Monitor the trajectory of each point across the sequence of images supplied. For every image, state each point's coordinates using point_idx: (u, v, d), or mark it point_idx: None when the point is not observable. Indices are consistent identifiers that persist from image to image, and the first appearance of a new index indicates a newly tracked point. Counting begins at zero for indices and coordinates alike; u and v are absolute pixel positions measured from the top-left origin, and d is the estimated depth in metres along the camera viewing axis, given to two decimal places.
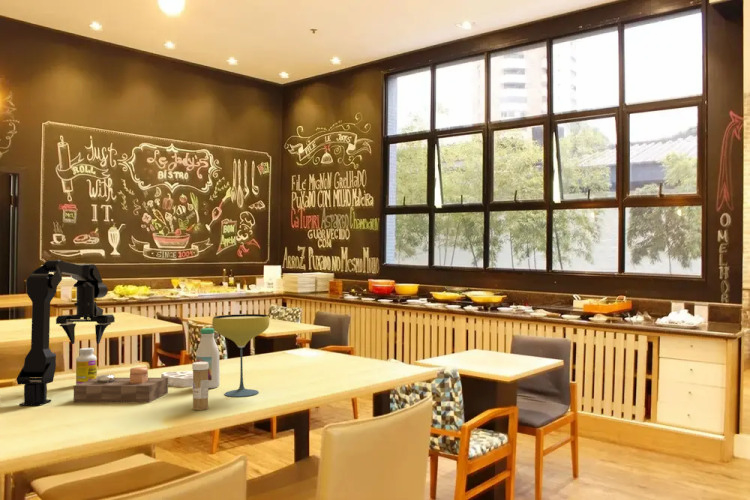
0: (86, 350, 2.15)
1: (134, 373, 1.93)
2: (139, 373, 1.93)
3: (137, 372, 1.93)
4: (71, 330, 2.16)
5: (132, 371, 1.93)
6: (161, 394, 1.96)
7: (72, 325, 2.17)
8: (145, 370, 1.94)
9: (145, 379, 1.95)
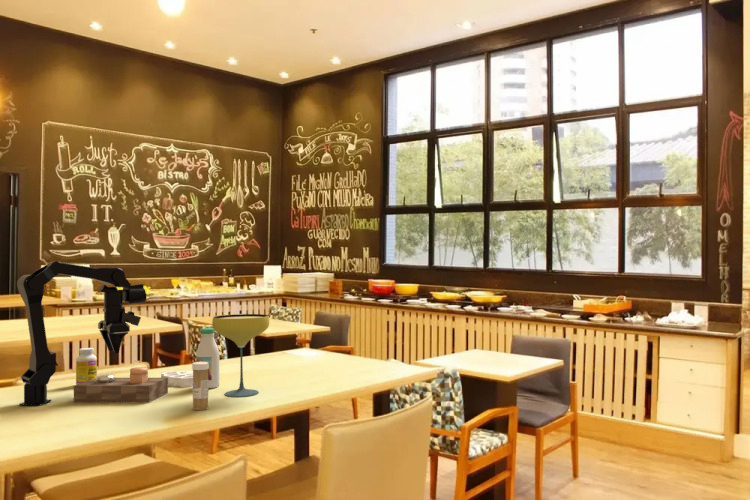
0: (86, 350, 2.15)
1: (134, 373, 1.93)
2: (139, 373, 1.93)
3: (137, 372, 1.93)
4: (108, 336, 2.09)
5: (132, 371, 1.93)
6: (161, 394, 1.96)
7: None
8: (145, 370, 1.94)
9: (145, 379, 1.95)
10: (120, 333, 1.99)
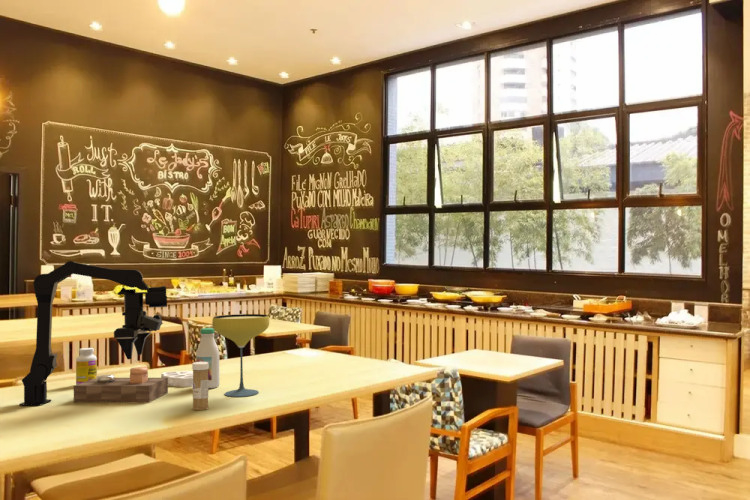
0: (86, 350, 2.15)
1: (134, 373, 1.93)
2: (139, 373, 1.93)
3: (137, 372, 1.93)
4: (138, 340, 2.02)
5: (132, 371, 1.93)
6: (161, 394, 1.96)
7: (141, 335, 2.03)
8: (145, 370, 1.94)
9: (145, 379, 1.95)
10: (126, 338, 1.89)
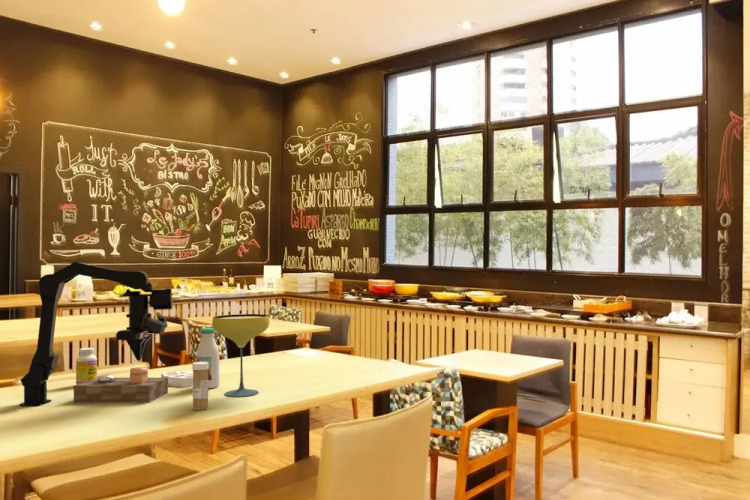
0: (86, 350, 2.15)
1: (134, 373, 1.93)
2: (139, 373, 1.93)
3: (137, 372, 1.93)
4: None
5: (132, 371, 1.93)
6: (161, 394, 1.96)
7: None
8: (145, 370, 1.94)
9: (145, 379, 1.95)
10: (134, 339, 1.92)
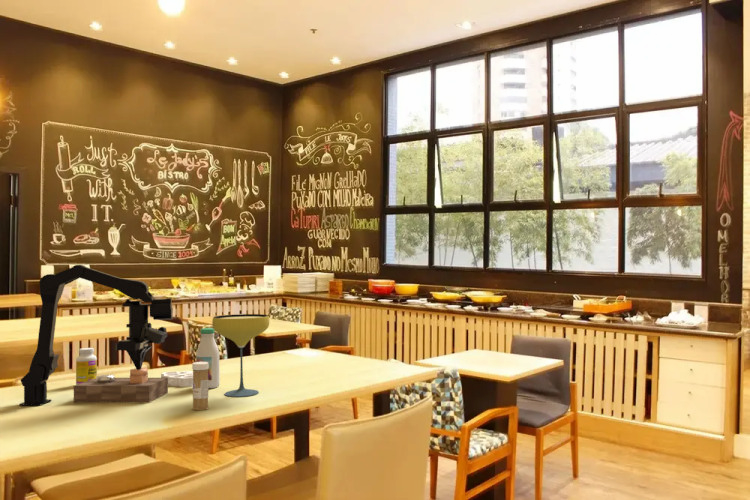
0: (86, 350, 2.15)
1: (134, 374, 1.93)
2: (139, 374, 1.93)
3: (137, 373, 1.93)
4: None
5: (132, 372, 1.93)
6: (161, 394, 1.96)
7: None
8: (145, 371, 1.94)
9: (145, 380, 1.95)
10: (134, 349, 1.92)
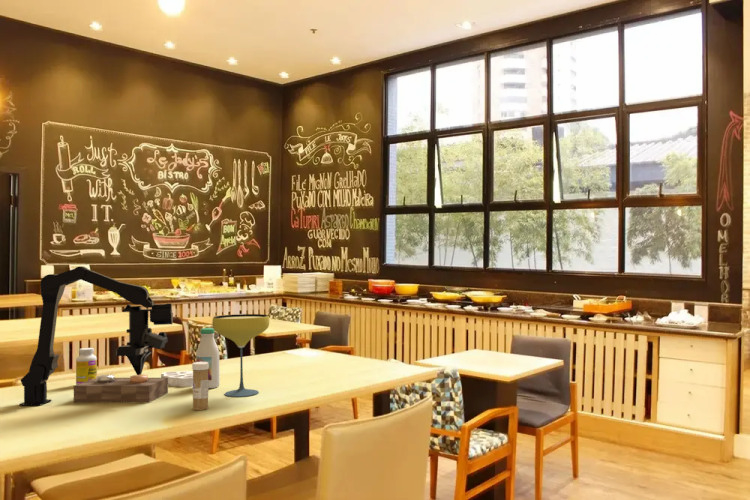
0: (86, 350, 2.15)
1: (134, 381, 1.92)
2: (139, 381, 1.93)
3: (137, 379, 1.92)
4: None
5: (132, 379, 1.93)
6: (161, 394, 1.96)
7: None
8: (145, 378, 1.94)
9: None
10: None
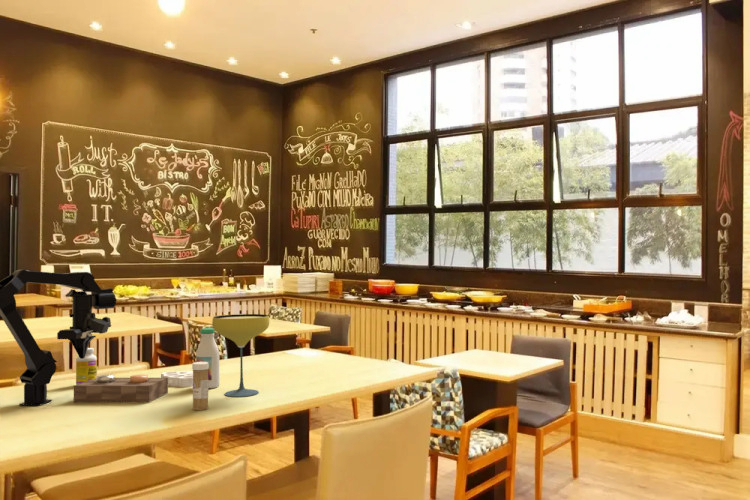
0: None
1: (134, 381, 1.92)
2: (139, 381, 1.93)
3: (137, 379, 1.92)
4: None
5: (132, 379, 1.93)
6: (161, 394, 1.96)
7: None
8: (145, 378, 1.94)
9: None
10: (77, 338, 1.96)
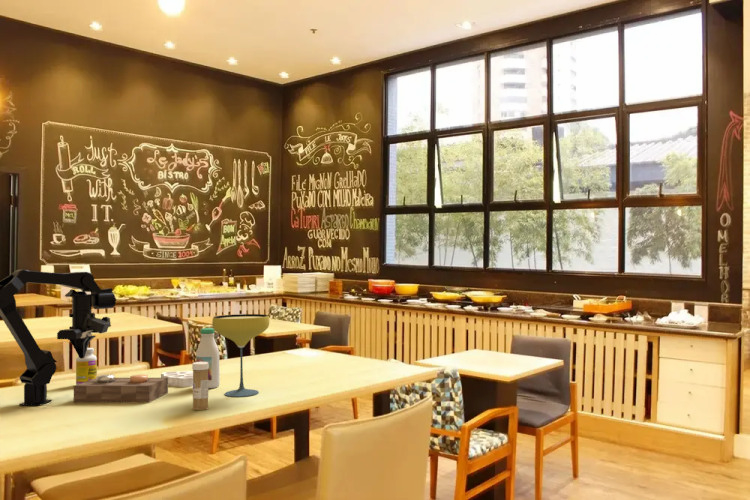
0: None
1: (134, 381, 1.92)
2: (139, 381, 1.93)
3: (137, 379, 1.92)
4: None
5: (132, 379, 1.93)
6: (161, 394, 1.96)
7: None
8: (145, 378, 1.94)
9: None
10: (77, 338, 1.96)
